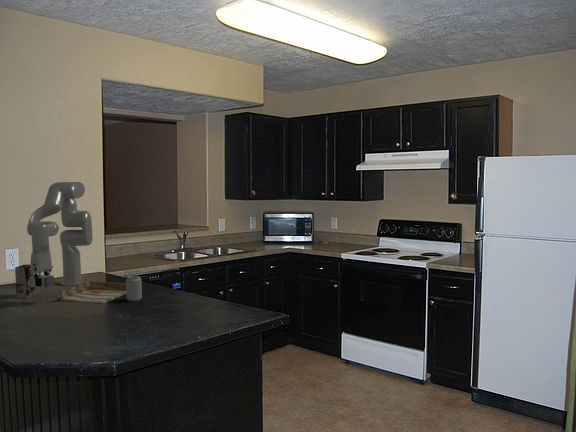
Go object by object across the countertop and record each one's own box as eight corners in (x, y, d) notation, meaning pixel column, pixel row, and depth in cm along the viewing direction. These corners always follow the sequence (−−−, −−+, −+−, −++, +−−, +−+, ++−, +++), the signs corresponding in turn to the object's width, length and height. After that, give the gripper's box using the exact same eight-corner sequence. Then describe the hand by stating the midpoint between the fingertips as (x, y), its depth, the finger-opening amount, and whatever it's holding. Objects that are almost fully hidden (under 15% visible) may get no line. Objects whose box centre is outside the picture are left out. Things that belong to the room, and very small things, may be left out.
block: (38, 284, 256) (38, 274, 256) (54, 285, 254) (53, 275, 253) (31, 287, 251) (30, 277, 251) (47, 288, 249) (46, 277, 249)
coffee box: (28, 298, 262) (26, 267, 261) (15, 298, 262) (14, 267, 261) (37, 293, 271) (35, 263, 270) (25, 293, 271) (23, 264, 270)
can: (144, 298, 260) (143, 274, 259) (138, 301, 252) (137, 277, 252) (130, 297, 261) (129, 274, 260) (123, 301, 253) (123, 277, 252)
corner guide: (89, 290, 278) (89, 281, 278) (129, 292, 273) (129, 283, 272) (60, 301, 255) (60, 291, 254) (103, 303, 249) (102, 293, 249)
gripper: (46, 245, 260) (48, 280, 262) (21, 251, 243) (23, 288, 245) (58, 246, 258) (60, 281, 260) (35, 251, 242) (37, 289, 243)
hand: (42, 284), depth 252 cm, fingers closed on block, 5 cm apart
